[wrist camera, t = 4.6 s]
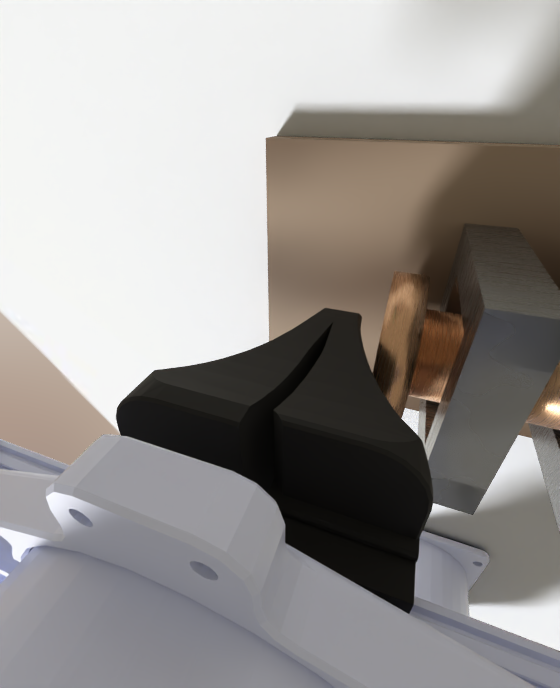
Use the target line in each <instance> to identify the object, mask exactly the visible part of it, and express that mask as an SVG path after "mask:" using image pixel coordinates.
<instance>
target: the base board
mask: <svg viewBox="0 0 560 688" xmlns="http://www.w3.org/2000/svg"><path fill="white" fill-rule="evenodd" d="M266 175H267V233H268V292H269V341H271V340H273V339H275V338H277V337H279V336H281V335H283V334H284V333H286V332H288V331H290V330H292V329H293V328H295V327H297V326H298V325H300V324H301V323H303V322H304V321H306V320H307V319H309V318H310V317H312V316H313V315H315V314H316V313H318V312H319V311H321V310H322V309H324V308H330V309H336V310H342V311H348V312H354V313H359V314H360V315H361V316H362V322H361V337H362V342H363V347H364V351H365V354H366V357H367V360H368V363H369V366H370V368H371V371H372V373H373V369H374V364H375V359H376V354H377V349H378V344H379V340H380V335H381V330H382V325H383V321H384V316H385V311H386V307H387V302H388V298H389V293H390V289H391V284H392V280H393V276H394V272H395V271H399V272H406V273H414V274H421V275H429V276H430V288H429V297H428V304H427V309H431V310H437V311H439V310H440V306H441V303H442V299H443V296H444V292H445V289H446V286H447V282H448V279H449V275H450V272H451V269H452V265H453V262H454V258H455V255H456V251H457V248H458V245H459V241H460V238H461V234H462V231H463V228H464V224H465V223H468V224H479V225H490V226H501V227H512V228H519V230H520V232H521V233H522V235H523V236H524V238H525V239H526V241H527V242H528V244H529V245H530V247H531V248H532V250H533V251H534V253H535V254H536V256H537V257H538V259H539V260H540V262H541V263H542V265H543V266H544V268H545V269H546V271H547V272H548V274H549V275H550V277H551V278H552V280H553V281H554V283H555V284H556V286H557V287H558V289H559V290H560V145H544V144H512V143H480V142H448V141H416V140H384V139H352V138H320V137H289V136H274V137H269V138H266ZM419 406H420V398H416V397H412V396H408V398H407V402H406V405H405V408H408V409H412V410H416V411H419ZM518 435H522V436H526V437H530V438H532V435H531V432H530V428H529V425H528V423H526V422H525V423H524V425H523V427H522V429H521V430H520V432H519V434H518Z"/></svg>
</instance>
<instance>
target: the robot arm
mask: <svg viewBox="0 0 560 688" xmlns="http://www.w3.org/2000/svg"><path fill="white" fill-rule="evenodd" d="M361 322H362V316H361V315H360V314H359V313H354V312H348V311H342V310H336V309H330V308H324V309H322V310H321V311H319V312H318V313H316V314H315V315H313V316H312V317H310V318H309V319H307V320H306V321H304V322H303V323H301V324H300V325H298V326H297V327H295V328H293V329H292V330H290V331H288V332H286V333H284V334H283V335H281V336H279V337H277V338H275V339H273V340H271V341H269V342H267V343H265V344H263V345H260V346H258V347H256V348H253V349H251V350H248V351H245V352H242V353H239V354H236V355H233V356H229V357H226V358H223V359H219V360H215V361H211V362H207V363H202V364H197V365H191V366H185V367H177V368H170V369H162V370H154V371H153V372H152V373H151V374H150V375H149V376H148V377H147V378H146V379H145V380H144V381H143V382H141V383H140V384H139V385H138V386H137V387H136V388H135V389H134V390H133V391H132V392H131V393H130V394H129V395H128V396H127V397H126V398H124V399H123V400H122V401H121V403H120V404H119V406H118V407H117V414H116V419H117V424H118V428H119V431H120V434H121V436H120V435H111V434H109V435H108V434H103V435H102V436H101V437H99V438H98V439H97V440H95V441H94V442H93V443H92V444H91V445H90V446H89V447H88V448H87V449H86V450H85V451H84V452H83V453H82V454H81V455H80V456H79V457H78V458H77V459H76V460H75V461H74V462H73V463H72V464H71V465H67V464H65V463H62V462H59V461H57V460H54V459H52V458H49V457H46V456H44V455H41V454H38V453H36V452H33V451H31V450H28V449H25V448H23V447H19V446H17V445H15V444H12V443H9V442H7V441H4V440H2V439H0V688H560V651H558V650H555V649H552V648H550V647H547V646H545V645H542V644H539V643H537V642H534V641H531V640H529V639H526V638H523V637H521V636H518V635H516V634H513V633H510V632H508V631H505V630H502V629H500V628H497V627H494V626H492V625H489V624H487V623H484V622H481V621H479V620H476V619H473V618H471V617H469V602H468V592H469V590H470V589H471V587H472V586H473V585H474V583H475V582H476V580H477V579H478V578H479V576H480V575H481V573H482V572H483V570H484V569H485V568H486V566H487V565H488V563H489V561H490V560H489V555H488V553H486V552H485V551H483V550H480V549H477V548H474V547H471V546H468V545H465V544H462V543H459V542H456V541H453V540H450V539H447V538H444V537H441V536H438V535H434V534H431V533H428V532H425V531H423V529H424V526H425V524H426V522H427V519H428V517H429V515H430V512H431V510H432V505H433V486H432V479H431V473H430V468H429V463H428V459H427V455H426V452H425V448H424V445H423V442H422V440H421V439H420V437H419V436H418V435H417V434H416V433H415V432H414V431H413V430H412V429H411V428H410V427H409V426H408V425H407V424H406V423H405V422H404V421H403V420H402V419H401V418H400V417H399V415H398V414H397V413H396V411H395V410H394V409H393V407H392V406H391V404H390V403H389V401H388V400H387V398H386V397H385V395H384V394H383V392H382V391H381V389H380V387H379V385H378V383H377V382H376V380H375V377H374V375H373V373H372V371H371V368H370V366H369V363H368V360H367V357H366V354H365V351H364V347H363V342H362V337H361Z"/></svg>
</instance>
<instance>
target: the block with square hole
mask: <svg viewBox="0 0 560 688" xmlns="http://www.w3.org/2000/svg"><path fill="white" fill-rule="evenodd" d="M439 311H443V312H450V313H456V314H462V321H463V330H464V335H463V338H462V341H461V344H460V347H459V350H458V352H457V355H456V358H455V361H454V364H453V367H452V369H451V372H450V375H449V378H448V381H447V384H446V386H445V389H444V392H443V395H442V398H441V401H440V403H438V402H434V401H430V400H425V399H421V398H420V406H419V424H418V436H419V437H420V439H421V440H422V442H423V445H424V448H425V452H426V455H427V459H428V463H429V468H430V473H431V479H432V486H433V503H435V504H439V505H442V506H445V507H449V508H452V509H455V510H458V511H462V512H465V513H468V514H472V515H473V514H474V512H475V510H476V509H477V507H478V505H479V503H480V501H481V500H482V498H483V496H484V494H485V493H486V491H487V489H488V487H489V485H490V484H491V482H492V480H493V478H494V477H495V475H496V473H497V471H498V469H499V468H500V466H501V464H502V462H503V461H504V459H505V457H506V455H507V453H508V452H509V450H510V448H511V446H512V445H513V443H514V441H515V439H516V438H517V436H518V434H519V432H520V430H521V429H522V427H523V425H524V423H525V422H526V420H527V418H528V416H529V414H530V413H531V411H532V409H533V407H534V406H535V404H536V402H537V400H538V398H539V397H540V395H541V393H542V391H543V390H544V388H545V386H546V384H547V382H548V381H549V379H550V377H551V375H552V374H553V372H554V370H555V368H556V366H557V365H558V363H559V361H560V290H559V289H558V287H557V286H556V284H555V283H554V281H553V280H552V278H551V277H550V275H549V274H548V272H547V271H546V269H545V268H544V266H543V265H542V263H541V262H540V260H539V259H538V257H537V256H536V254H535V253H534V251H533V250H532V248H531V247H530V245H529V244H528V242H527V241H526V239H525V238H524V236H523V235H522V233H521V232H520V230H519V228H512V227H501V226H490V225H479V224H468V223H465V224H464V228H463V231H462V234H461V238H460V241H459V245H458V248H457V251H456V255H455V258H454V262H453V265H452V269H451V272H450V275H449V279H448V282H447V286H446V289H445V292H444V296H443V299H442V303H441V306H440V310H439ZM528 425H529V428H530V432H531V435H532V438H533V442H534V445H535V449H536V452H537V456H538V459H539V463H540V466H541V470H542V473H543V477H544V480H545V484H546V487H547V491H548V494H549V497H550V501H551V504H552V508H553V511H554V515H555V518H556V522H557V525H558V529H559V532H560V430H557V429H552V428H548V427H544V426H539V425H535V424H531V423H528Z"/></svg>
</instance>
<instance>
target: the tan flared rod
mask: <svg viewBox="0 0 560 688" xmlns="http://www.w3.org/2000/svg"><path fill="white" fill-rule="evenodd" d="M429 288H430V276H429V275H421V274H414V273H406V272H399V271H395V272H394V276H393V280H392V284H391V289H390V293H389V298H388V302H387V307H386V311H385V316H384V321H383V325H382V330H381V335H380V340H379V344H378V349H377V354H376V359H375V364H374V369H373V375H374V377H375V380H376V382H377V383H378V385H379V387H380V389H381V391H382V392H383V394H384V395H385V397H386V398H387V400H388V401H389V403H390V404H391V406H392V407H393V409H394V410H395V411H396V413H397V414H398V415H399V417H400V418H402V415H403V412H404V409H405V405H406V402H407V398H408V396H412V397H416V398H421V399H425V400H430V401H434V402H438V403H440V401H441V398H442V395H443V392H444V389H445V386H446V384H447V381H448V378H449V375H450V372H451V369H452V367H453V364H454V361H455V358H456V355H457V352H458V350H459V347H460V344H461V341H462V338H463V335H464V330H463V321H462V314H456V313H450V312H443V311H437V310H431V309H427V304H428V297H429ZM526 423H531V424H535V425H539V426H544V427H548V428H552V429H557V430H560V361H559V363H558V365H557V366H556V368H555V370H554V372H553V374H552V375H551V377H550V379H549V381H548V382H547V384H546V386H545V388H544V390H543V391H542V393H541V395H540V397H539V398H538V400H537V402H536V404H535V406H534V407H533V409H532V411H531V413H530V414H529V416H528V418H527V420H526Z"/></svg>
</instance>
